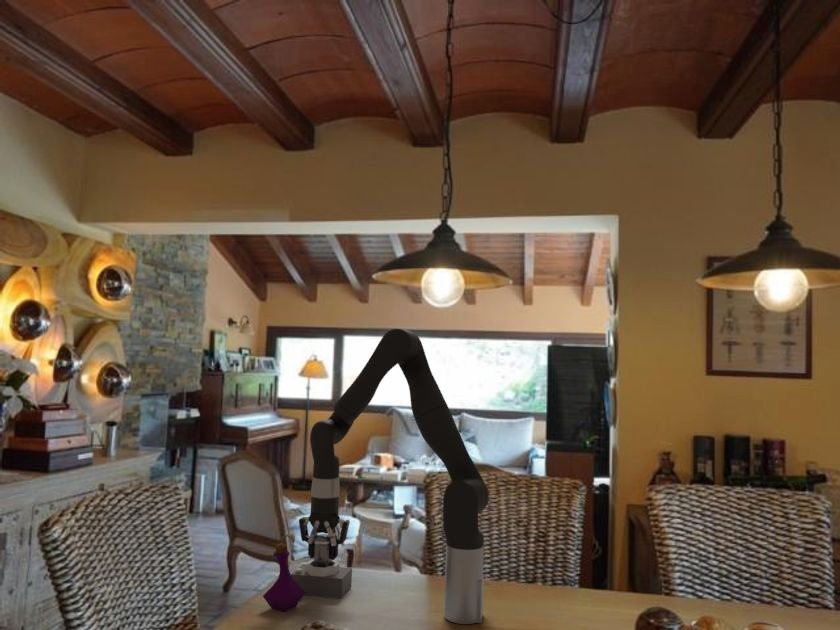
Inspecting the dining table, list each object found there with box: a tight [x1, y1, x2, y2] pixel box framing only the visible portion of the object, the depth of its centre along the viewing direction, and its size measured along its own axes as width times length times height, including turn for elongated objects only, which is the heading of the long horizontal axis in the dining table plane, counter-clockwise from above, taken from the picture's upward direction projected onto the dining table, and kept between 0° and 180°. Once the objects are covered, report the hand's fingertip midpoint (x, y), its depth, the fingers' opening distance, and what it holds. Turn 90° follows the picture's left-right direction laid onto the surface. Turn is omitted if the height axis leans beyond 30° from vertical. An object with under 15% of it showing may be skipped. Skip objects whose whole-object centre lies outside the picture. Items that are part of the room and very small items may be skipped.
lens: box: [313, 533, 332, 568], centre depth 171 cm, size 5×5×9 cm
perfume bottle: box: [262, 533, 306, 613], centre depth 158 cm, size 8×8×18 cm
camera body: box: [290, 559, 353, 599], centre depth 170 cm, size 14×9×7 cm, turn 80°
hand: (322, 558), depth 171 cm, fingers open, 5 cm apart
